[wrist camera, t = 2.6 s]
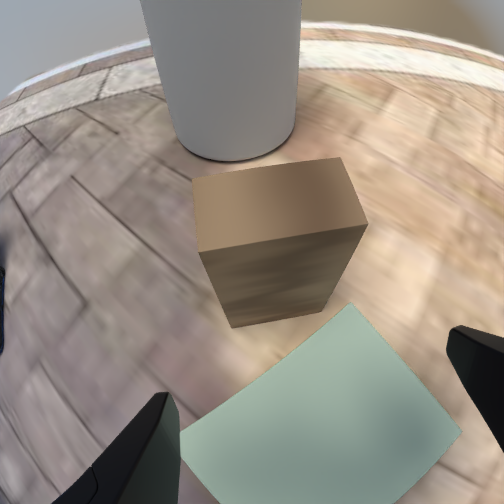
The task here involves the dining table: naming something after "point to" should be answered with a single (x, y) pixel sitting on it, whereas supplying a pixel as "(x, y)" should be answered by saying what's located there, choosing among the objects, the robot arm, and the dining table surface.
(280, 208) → the walnut slab
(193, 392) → the dining table surface
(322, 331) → the mat
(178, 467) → the robot arm
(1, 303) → the handheld game console
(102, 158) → the dining table surface
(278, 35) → the cylinder vase
